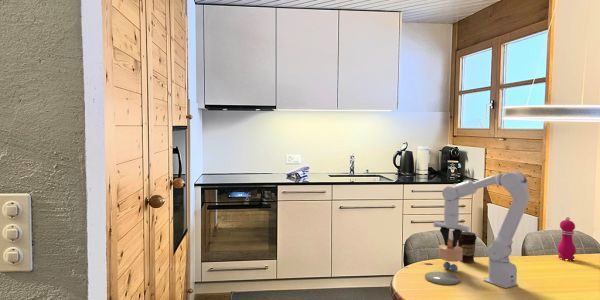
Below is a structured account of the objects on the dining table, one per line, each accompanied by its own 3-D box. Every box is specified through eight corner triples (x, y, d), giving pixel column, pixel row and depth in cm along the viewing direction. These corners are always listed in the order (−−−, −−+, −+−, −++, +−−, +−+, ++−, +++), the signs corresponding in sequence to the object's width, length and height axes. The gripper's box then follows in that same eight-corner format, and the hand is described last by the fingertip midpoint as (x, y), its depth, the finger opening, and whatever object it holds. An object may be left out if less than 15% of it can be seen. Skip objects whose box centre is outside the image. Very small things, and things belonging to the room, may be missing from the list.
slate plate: (466, 281, 157) (466, 279, 157) (443, 287, 151) (443, 285, 151) (440, 271, 168) (440, 269, 168) (417, 276, 162) (417, 274, 162)
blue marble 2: (459, 271, 168) (459, 264, 168) (454, 272, 167) (454, 265, 167) (453, 269, 171) (453, 262, 171) (448, 270, 170) (448, 263, 169)
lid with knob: (467, 259, 169) (467, 241, 168) (451, 263, 164) (452, 243, 164) (449, 253, 177) (449, 235, 177) (433, 256, 172) (434, 238, 172)
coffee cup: (479, 264, 179) (480, 235, 178) (461, 264, 179) (461, 235, 179) (471, 258, 187) (472, 231, 187) (454, 258, 188) (454, 230, 187)
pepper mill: (575, 258, 188) (576, 216, 188) (576, 262, 182) (577, 219, 182) (557, 256, 192) (558, 214, 192) (557, 259, 186) (558, 217, 186)
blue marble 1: (452, 269, 172) (452, 262, 171) (447, 270, 170) (447, 263, 170) (446, 267, 174) (446, 260, 174) (441, 268, 173) (441, 261, 173)
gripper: (472, 215, 168) (471, 247, 169) (438, 210, 178) (437, 241, 178) (466, 217, 163) (465, 250, 163) (431, 213, 172) (431, 244, 173)
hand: (450, 245), depth 170 cm, fingers closed on lid with knob, 3 cm apart
